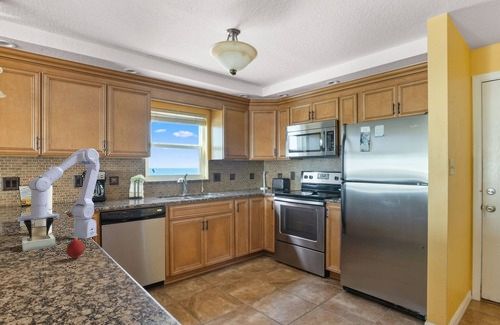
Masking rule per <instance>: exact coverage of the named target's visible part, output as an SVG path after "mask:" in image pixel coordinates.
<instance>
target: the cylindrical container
mask: <svg viewBox="0 0 500 325" xmlns="http://www.w3.org/2000/svg"><path fill="white" fill-rule="evenodd" d="M53 189H54V188H53V185H52V184H51V186H50V188H49V189H48V190H47V214H53ZM44 218H45V217H44ZM34 219H38V218H34ZM37 226H46V219H41V220H34V227H37ZM52 232H53V223H52V224H51V226H50V229H49V232H48V235H49V234H53V233H52Z"/></svg>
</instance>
